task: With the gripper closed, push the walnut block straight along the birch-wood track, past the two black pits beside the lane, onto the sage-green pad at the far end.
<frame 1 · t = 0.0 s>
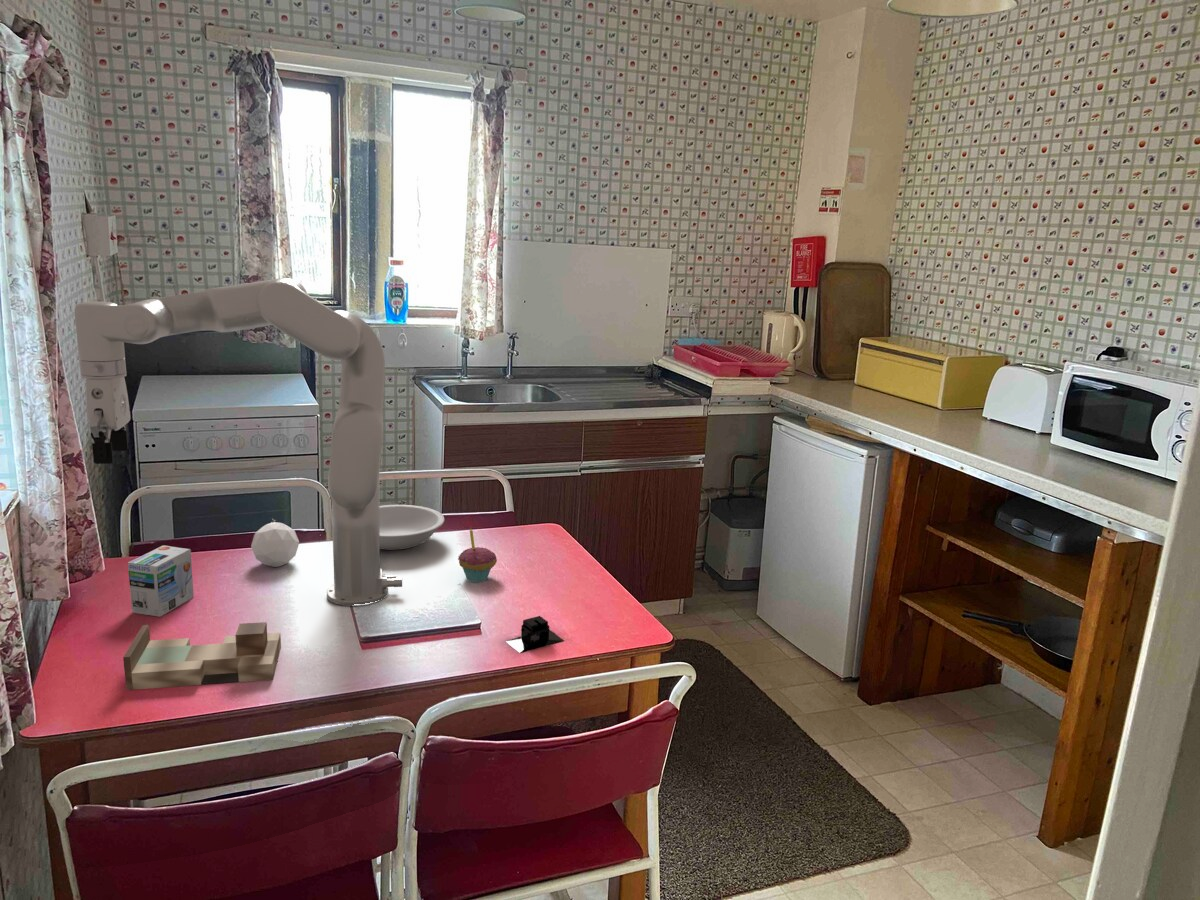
hand: (111, 456, 167), 31 cm above the table, tool pointing down, fingers open, 9 cm apart
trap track: (207, 667, 153), on the table
cupcake: (477, 579, 197), on the table
light bulb box: (163, 605, 176), on the table
walnut block: (252, 649, 154), point 3 cm above the table, touching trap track
ornament: (276, 561, 202), on the table
soup bowl: (395, 545, 215), on the table
build plate: (534, 644, 168), on the table
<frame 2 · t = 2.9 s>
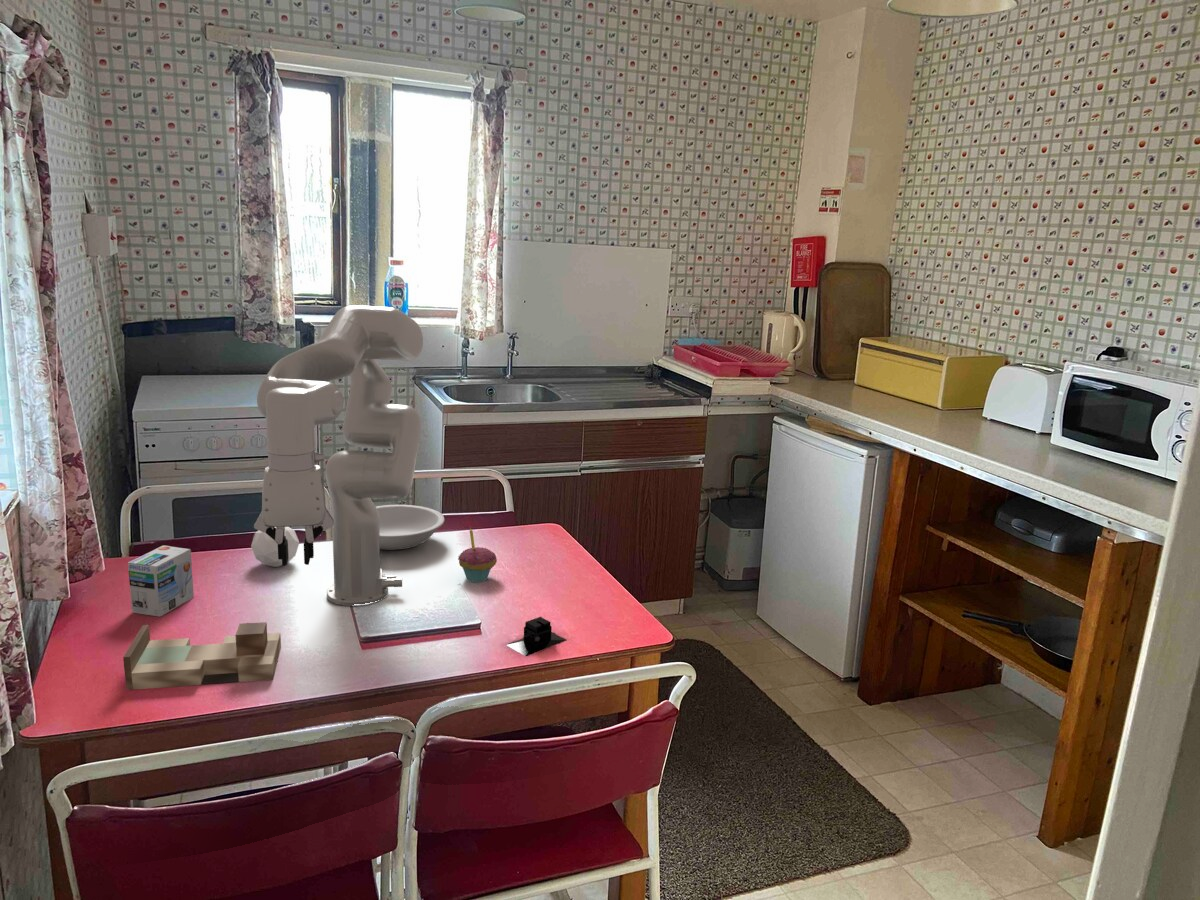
hand: (296, 561, 152), 19 cm above the table, tool pointing down, fingers open, 3 cm apart
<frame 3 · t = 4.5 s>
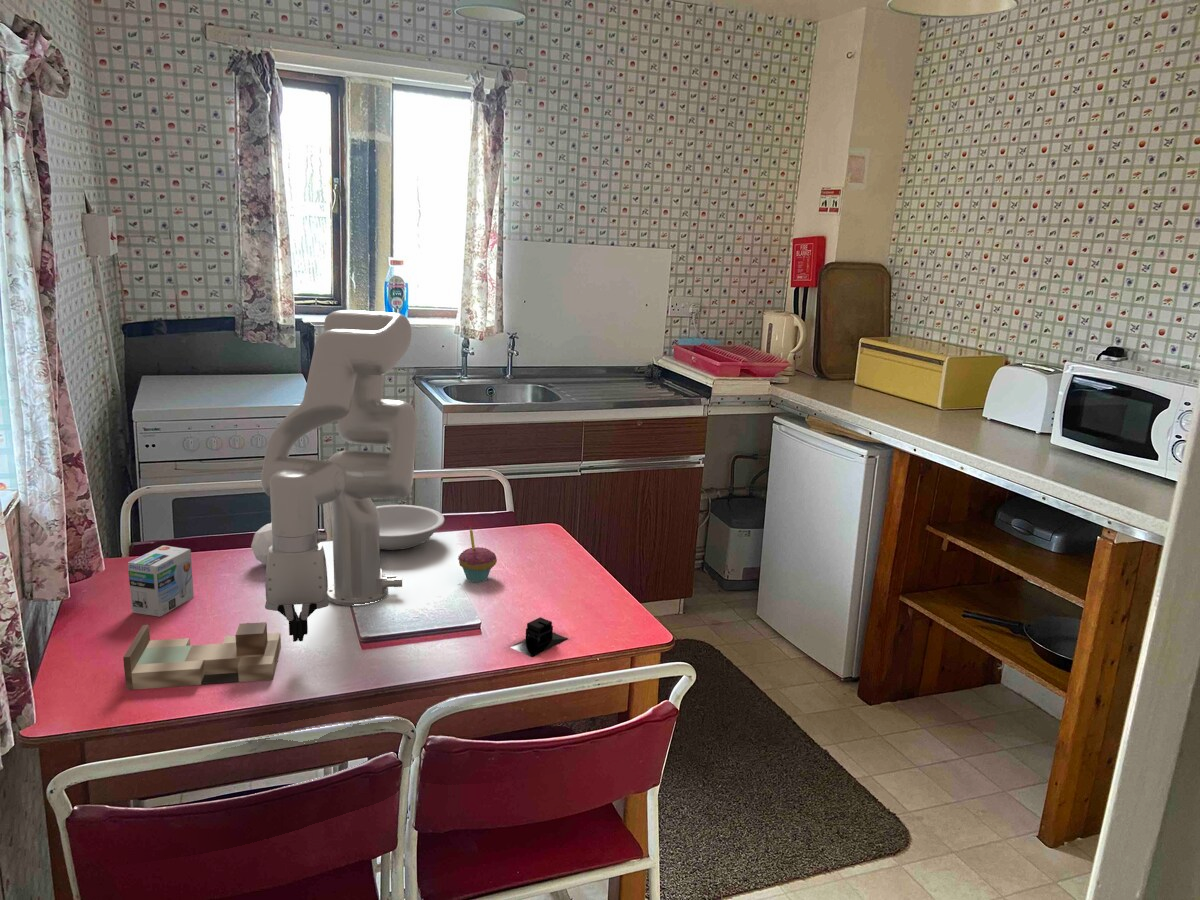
hand: (298, 638, 155), 5 cm above the table, tool pointing down, fingers closed
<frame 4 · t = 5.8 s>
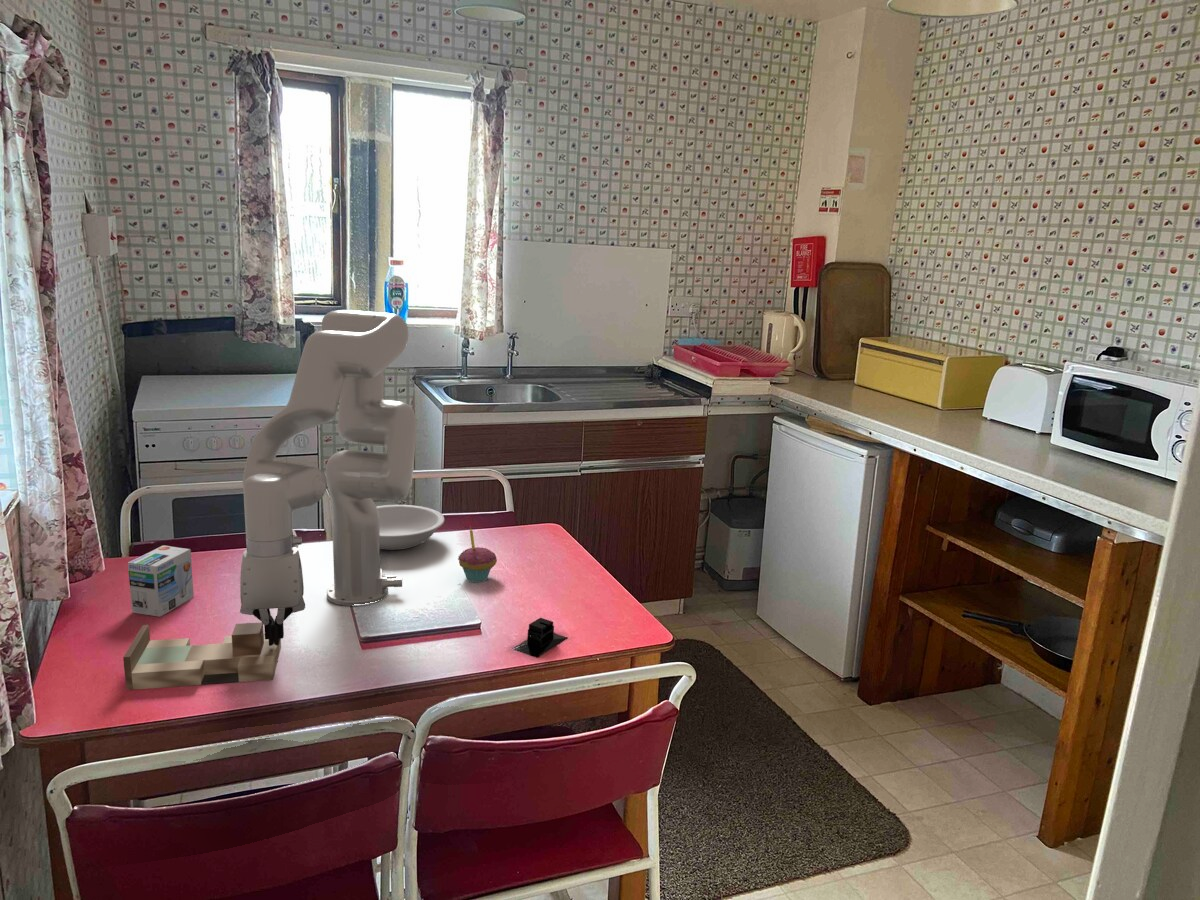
hand: (274, 641, 154), 4 cm above the table, tool pointing down, fingers closed
walnut block: (248, 649, 154), point 3 cm above the table, touching gripper
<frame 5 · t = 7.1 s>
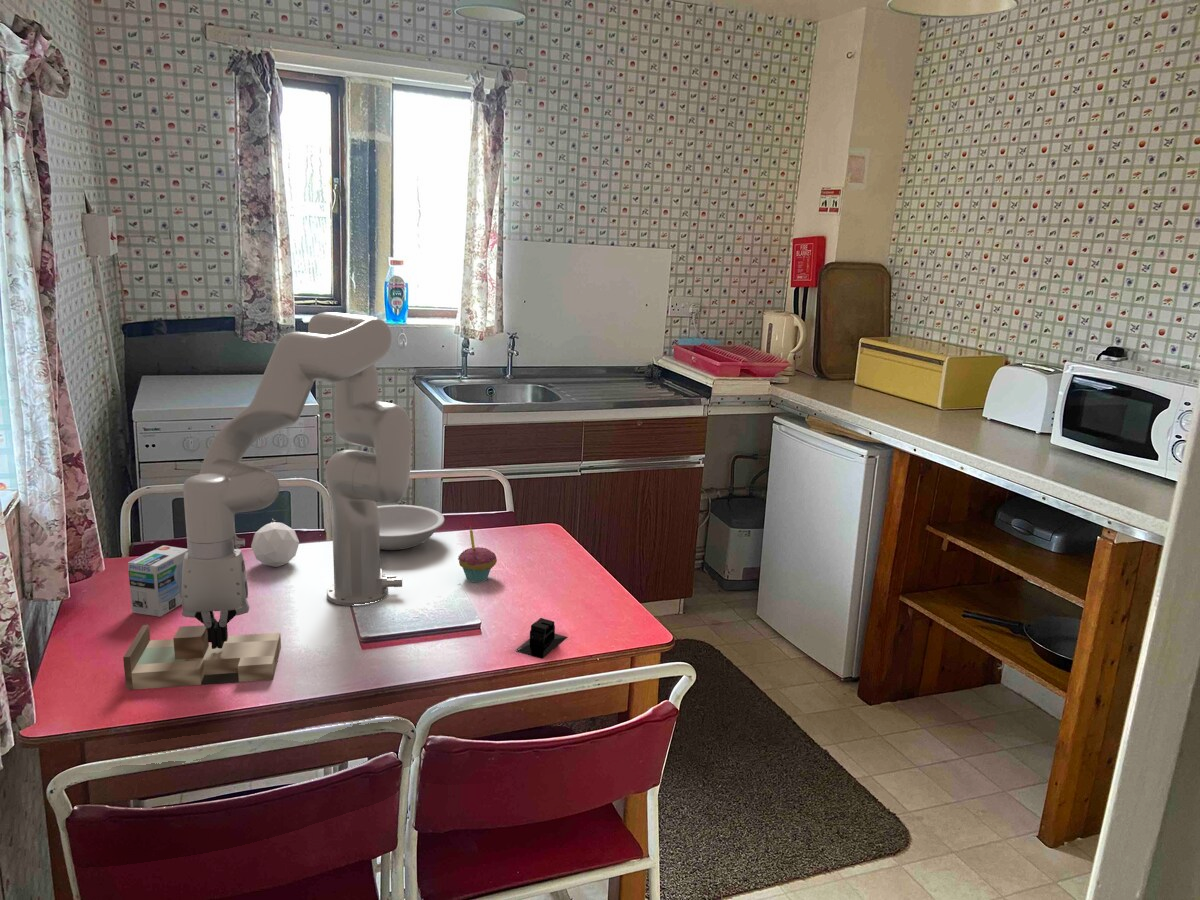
hand: (218, 645, 152), 4 cm above the table, tool pointing down, fingers closed
walnut block: (192, 652, 152), point 3 cm above the table, touching gripper, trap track
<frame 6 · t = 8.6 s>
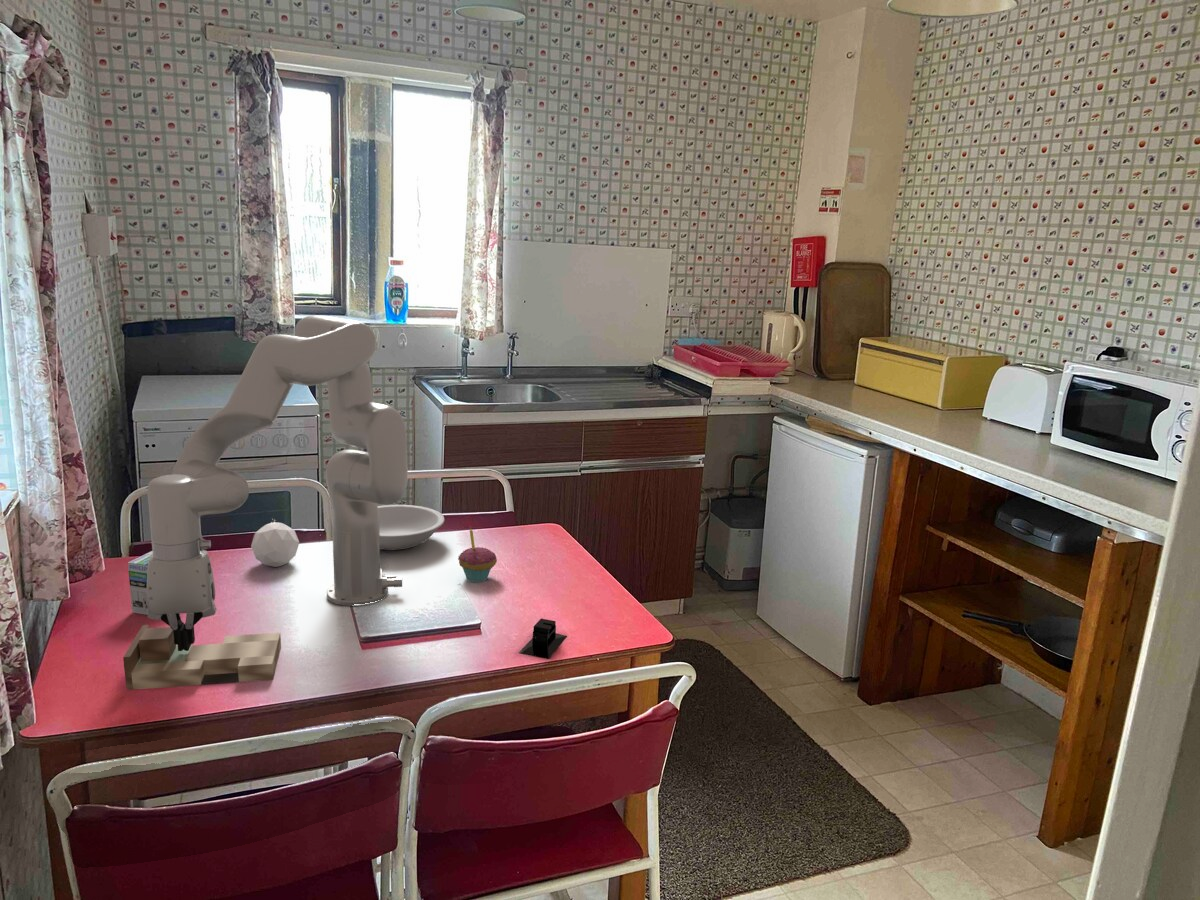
hand: (185, 647, 151), 4 cm above the table, tool pointing down, fingers closed
walnut block: (158, 654, 150), point 3 cm above the table, touching gripper, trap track
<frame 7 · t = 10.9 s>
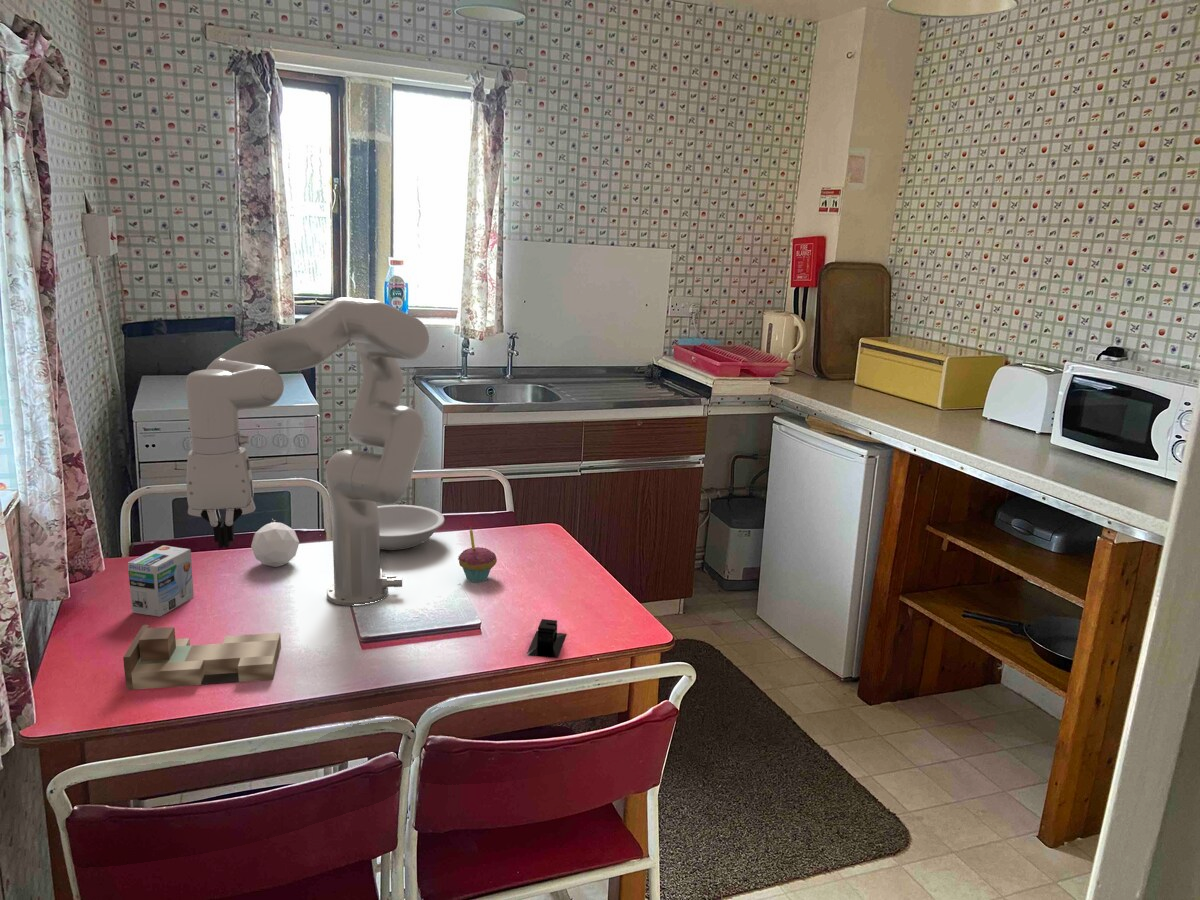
hand: (225, 544, 151), 22 cm above the table, tool pointing down, fingers closed
walnut block: (158, 654, 150), point 3 cm above the table, touching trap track
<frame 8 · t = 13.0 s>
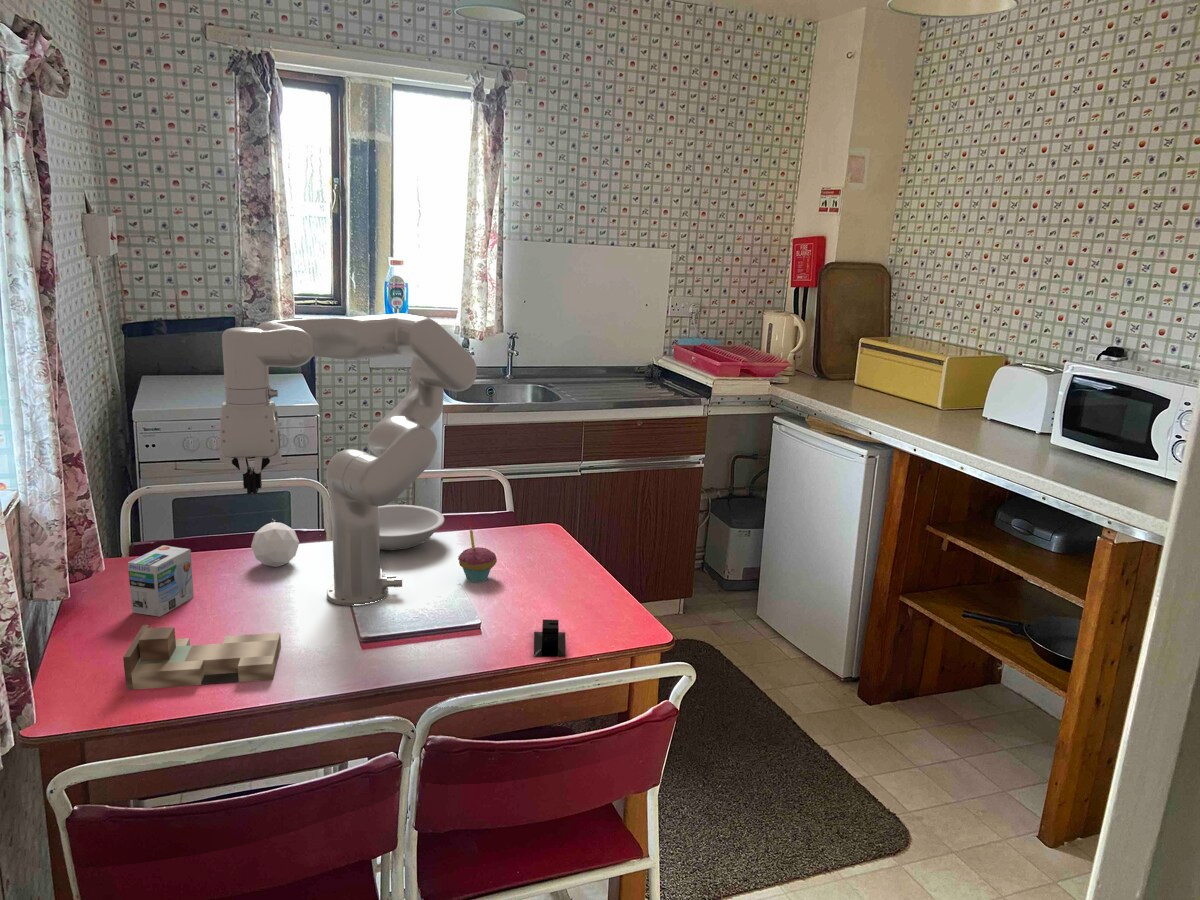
hand: (253, 491, 163), 27 cm above the table, tool pointing down, fingers closed
at the end: walnut block 0.9 cm from the target spot on the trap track, point 3.0 cm above the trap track's base; walnut block tilted 0° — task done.
